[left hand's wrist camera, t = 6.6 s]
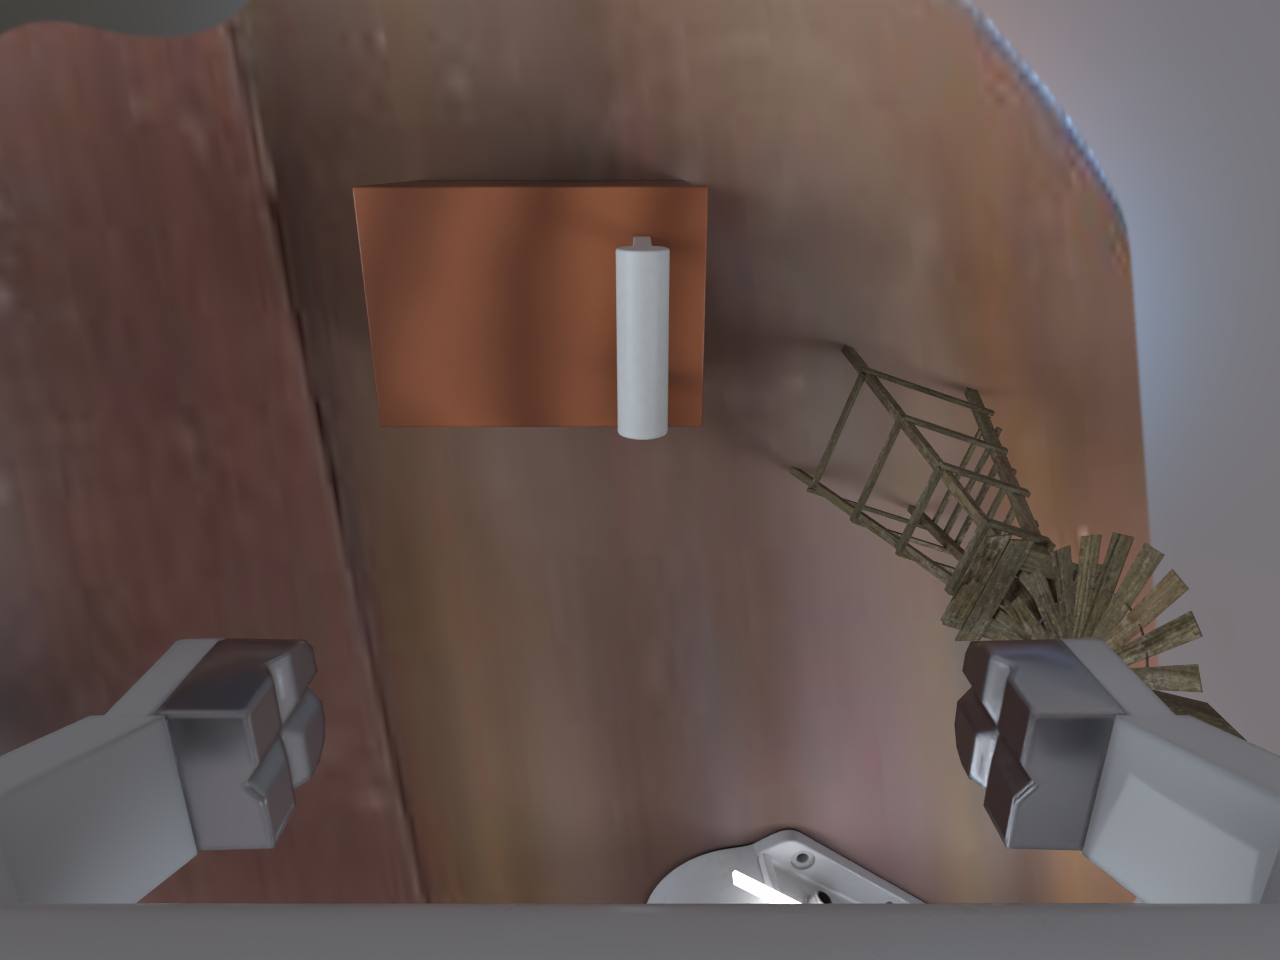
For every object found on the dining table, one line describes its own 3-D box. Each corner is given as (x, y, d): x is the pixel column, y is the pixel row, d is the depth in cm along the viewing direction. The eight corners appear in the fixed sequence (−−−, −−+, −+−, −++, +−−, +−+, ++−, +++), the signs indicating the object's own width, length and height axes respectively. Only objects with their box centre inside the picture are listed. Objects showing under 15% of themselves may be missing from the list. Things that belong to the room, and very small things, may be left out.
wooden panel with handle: (706, 185, 35) (726, 193, 27) (700, 418, 39) (716, 486, 31) (361, 186, 35) (278, 194, 27) (387, 419, 39) (322, 487, 31)
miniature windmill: (847, 335, 47) (1152, 597, 19) (982, 382, 48) (1463, 697, 20) (785, 479, 50) (970, 886, 22) (914, 520, 51) (1247, 960, 23)
